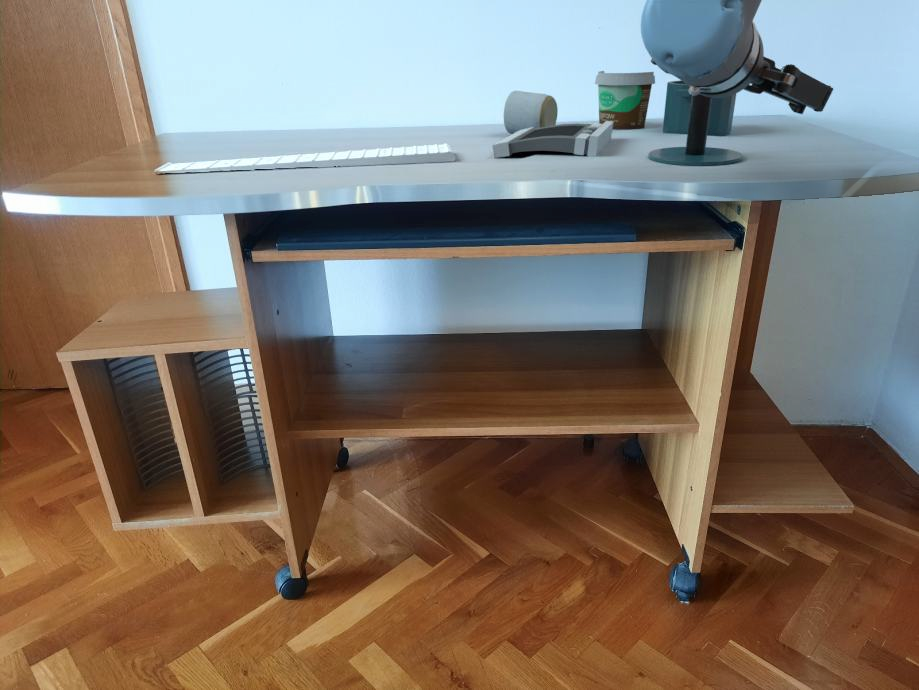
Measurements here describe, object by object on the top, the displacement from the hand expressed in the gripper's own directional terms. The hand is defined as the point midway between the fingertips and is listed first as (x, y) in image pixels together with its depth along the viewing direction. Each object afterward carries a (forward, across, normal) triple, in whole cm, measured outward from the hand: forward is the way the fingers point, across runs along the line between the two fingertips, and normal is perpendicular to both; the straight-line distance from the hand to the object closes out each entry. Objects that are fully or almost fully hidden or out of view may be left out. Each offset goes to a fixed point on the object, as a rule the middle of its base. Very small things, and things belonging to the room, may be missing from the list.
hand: (745, 84), depth 80 cm
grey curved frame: (+10, -25, -16) cm, 32 cm away
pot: (+35, -11, -6) cm, 37 cm away
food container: (+37, -26, -10) cm, 47 cm away
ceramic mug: (+25, -37, -16) cm, 47 cm away
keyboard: (-14, -54, -29) cm, 63 cm away
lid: (+6, -3, -10) cm, 12 cm away
